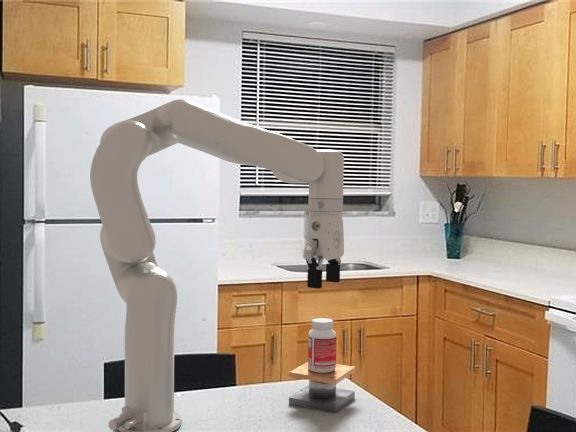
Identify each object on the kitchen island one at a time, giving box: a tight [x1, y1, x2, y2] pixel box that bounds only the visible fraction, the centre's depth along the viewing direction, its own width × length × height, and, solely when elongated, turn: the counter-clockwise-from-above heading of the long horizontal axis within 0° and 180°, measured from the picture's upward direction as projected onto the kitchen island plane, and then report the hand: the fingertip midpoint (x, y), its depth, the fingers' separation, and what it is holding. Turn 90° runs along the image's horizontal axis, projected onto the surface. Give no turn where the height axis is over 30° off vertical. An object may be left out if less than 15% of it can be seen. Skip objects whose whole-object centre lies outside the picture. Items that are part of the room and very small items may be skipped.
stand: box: [288, 361, 356, 414], centre depth 147 cm, size 11×11×7 cm
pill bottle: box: [307, 317, 337, 373], centre depth 146 cm, size 6×6×11 cm
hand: (323, 284), depth 145 cm, fingers open, 9 cm apart
